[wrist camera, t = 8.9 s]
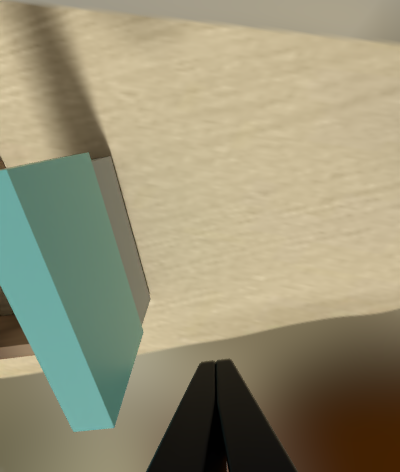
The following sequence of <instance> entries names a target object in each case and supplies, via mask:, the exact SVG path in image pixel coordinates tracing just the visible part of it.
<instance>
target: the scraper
mask: <svg viewBox="0 0 400 472" xmlns="http://www.w3.org/2000/svg"><path fill="white" fill-rule="evenodd" d="M0 286H1V288H2V290H3V292H4V294H5V296H6V298H7V300H8V302H9V304H10V306H11V308H12V310H13V312H14V314H15V316H16V318H17V320H18V322H19V324H20V326H21V328H22V330H23V332H24V334H25V336H26V338H27V340H28V342H29V344H30V346H31V348H32V350H33V352H34V354H35V356H36V358H37V360H38V362H39V364H40V366H41V368H42V370H43V372H44V374H45V376H46V378H47V380H48V382H49V384H50V386H51V388H52V390H53V391H54V394H55V396H56V398H57V399H58V402H59V404H60V406H61V408H62V410H63V412H64V414H65V416H66V417H67V420H68V422H69V424H70V426H71V428H72V430H73V431H74V432H76V431H86V430H96V429H107V428H114V427H115V423H116V420H117V417H118V414H119V410H120V407H121V404H122V400H123V397H124V394H125V390H126V387H127V384H128V381H129V377H130V374H131V371H132V368H133V364H134V361H135V358H136V355H137V351H138V348H139V345H140V342H141V338H142V335H143V329H142V323H143V320H144V317H145V314H146V311H147V308H148V305H149V302H150V295H149V292H148V288H147V285H146V281H145V277H144V274H143V270H142V267H141V263H140V260H139V256H138V252H137V249H136V245H135V242H134V238H133V234H132V231H131V227H130V224H129V220H128V216H127V213H126V209H125V206H124V202H123V198H122V195H121V191H120V188H119V184H118V180H117V177H116V173H115V170H114V166H113V162H112V159H111V156H109V157H103V158H97V159H92V160H91V158H90V155H89V152H87V153H82V154H76V155H71V156H66V157H60V158H55V159H50V160H45V161H40V162H35V163H30V164H25V165H20V166H15V167H10V168H5V169H0Z"/></svg>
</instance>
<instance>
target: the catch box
mask: <svg viewBox="0 0 400 472" xmlns="http://www.w3.org/2000/svg"><path fill="white" fill-rule="evenodd" d="M0 169H5V165H4V163H3V161H0ZM32 355H35V354H34V352H33V350H32V348H31V346H30V344H29V342H28V340H27V338H26V336H25V334H24V332H23V330H22V328H21V326H20V324H19V322H18V320H17V318H16V316H15V314H13V315H6V316H0V359H7V358H15V357H23V356H32Z"/></svg>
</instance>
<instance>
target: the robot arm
mask: <svg viewBox="0 0 400 472" xmlns="http://www.w3.org/2000/svg"><path fill="white" fill-rule="evenodd" d="M227 464H228V469H229V472H298V471H297V470H296V468H295V466H294V464H293V463H292V461H291V459H290V458H289V456H288V454H287V453H286V451H285V449H284V448H283V446H282V444H281V442H280V441H279V439H278V437H277V436H276V434H275V432H274V431H273V429H272V427H271V426H270V424H269V422H268V420H267V419H266V417H265V415H264V414H263V412H262V410H261V409H260V407H259V405H258V403H257V402H256V400H255V398H254V397H253V395H252V393H251V392H250V390H249V388H248V387H247V385H246V383H245V381H244V380H243V378H242V376H241V375H240V373H239V371H238V370H237V368H236V366H235V365H234V363H233V361H232V360H231V359H221V360H217V361H216V362H215V361H213V360H212V361H205V362H201V363H200V364H199V366H198V368H197V370H196V372H195V374H194V376H193V378H192V380H191V382H190V384H189V386H188V388H187V390H186V392H185V394H184V396H183V398H182V400H181V402H180V404H179V406H178V408H177V410H176V412H175V414H174V416H173V418H172V420H171V422H170V424H169V426H168V428H167V430H166V432H165V434H164V436H163V438H162V440H161V442H160V444H159V446H158V448H157V451H156V453H155V455H154V457H153V459H152V461H151V463H150V465H149V467H148V469H147V471H146V472H227Z"/></svg>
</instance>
